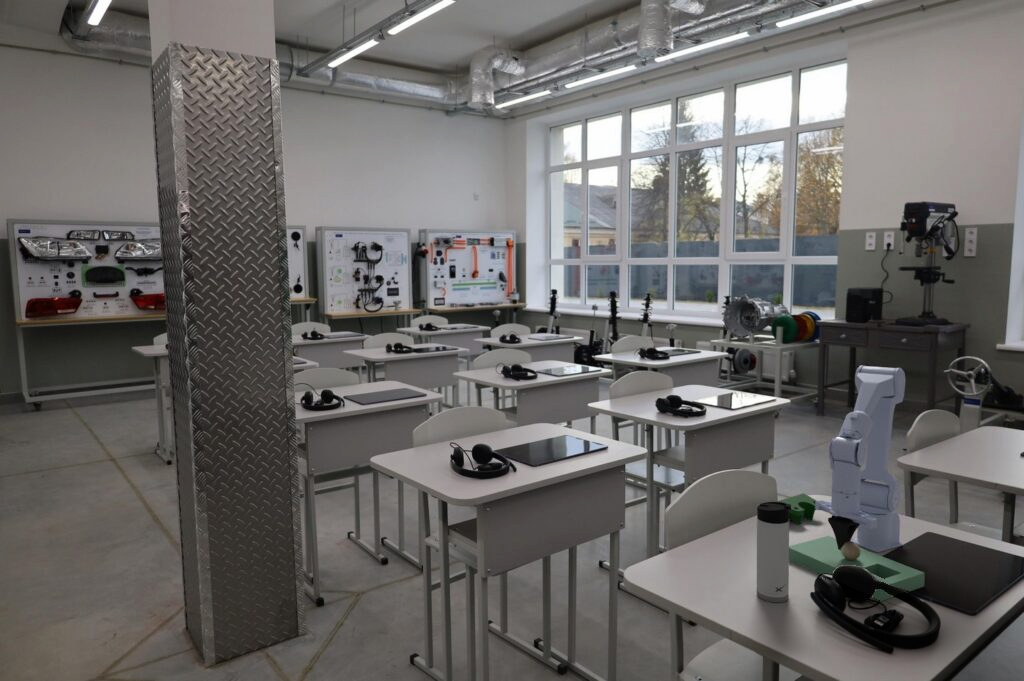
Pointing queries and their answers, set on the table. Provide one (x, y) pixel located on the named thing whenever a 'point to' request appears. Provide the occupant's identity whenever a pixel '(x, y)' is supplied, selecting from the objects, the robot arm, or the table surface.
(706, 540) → the table surface
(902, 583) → the putting board
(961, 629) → the table surface
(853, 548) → the maple ball
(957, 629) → the table surface
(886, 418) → the robot arm
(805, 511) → the clamp
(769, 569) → the travel mug
